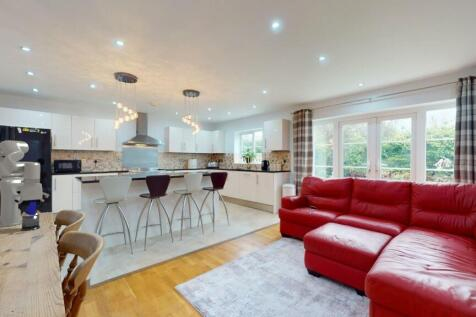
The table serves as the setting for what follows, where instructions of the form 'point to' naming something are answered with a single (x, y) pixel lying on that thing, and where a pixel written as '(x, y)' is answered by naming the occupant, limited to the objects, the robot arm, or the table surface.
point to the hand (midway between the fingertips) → (31, 208)
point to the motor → (30, 221)
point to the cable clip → (31, 209)
